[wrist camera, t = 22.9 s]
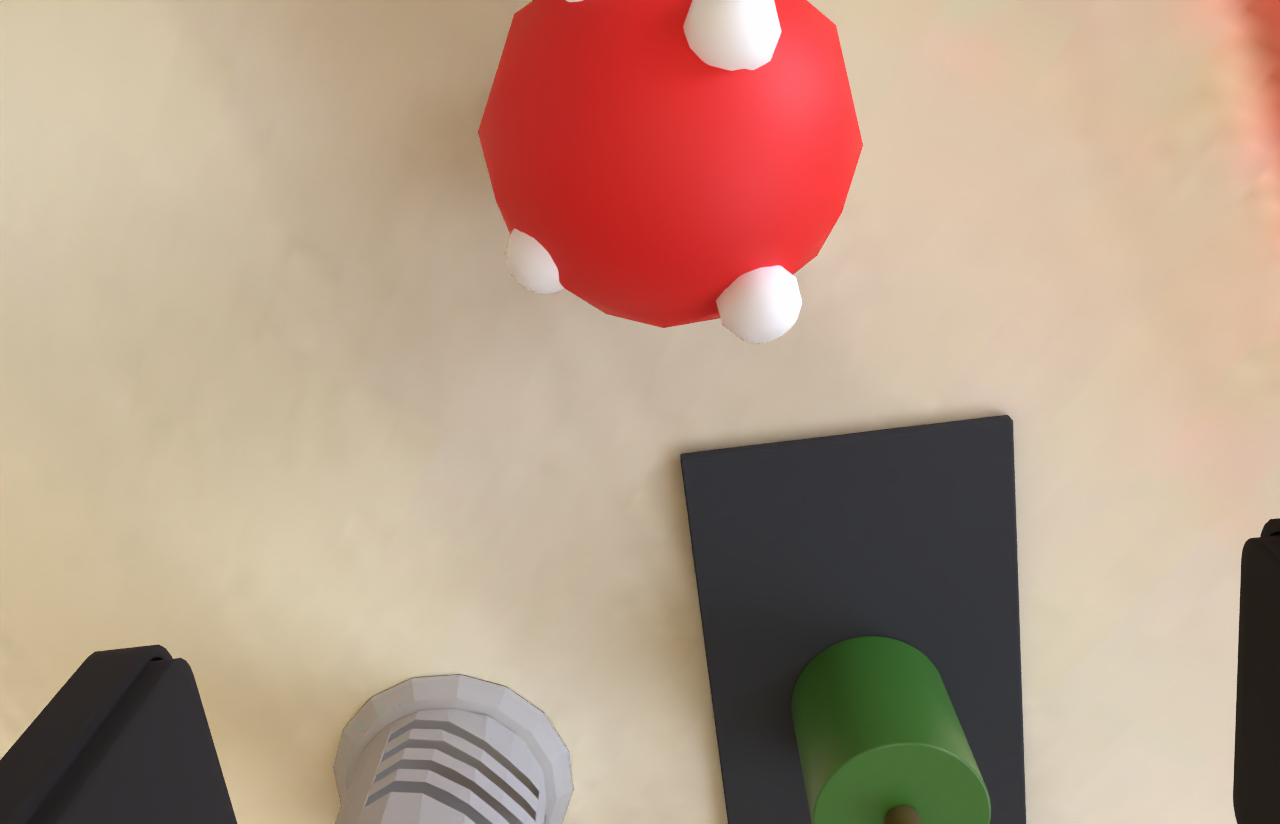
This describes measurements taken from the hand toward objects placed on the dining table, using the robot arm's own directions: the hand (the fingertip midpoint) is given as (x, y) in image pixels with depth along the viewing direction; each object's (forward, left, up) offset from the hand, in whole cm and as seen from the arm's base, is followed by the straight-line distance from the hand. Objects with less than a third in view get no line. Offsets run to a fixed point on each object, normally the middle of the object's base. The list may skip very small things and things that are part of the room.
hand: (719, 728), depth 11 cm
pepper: (+5, -21, -32) cm, 38 cm away
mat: (+5, -20, -32) cm, 38 cm away
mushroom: (0, +2, -32) cm, 33 cm away
